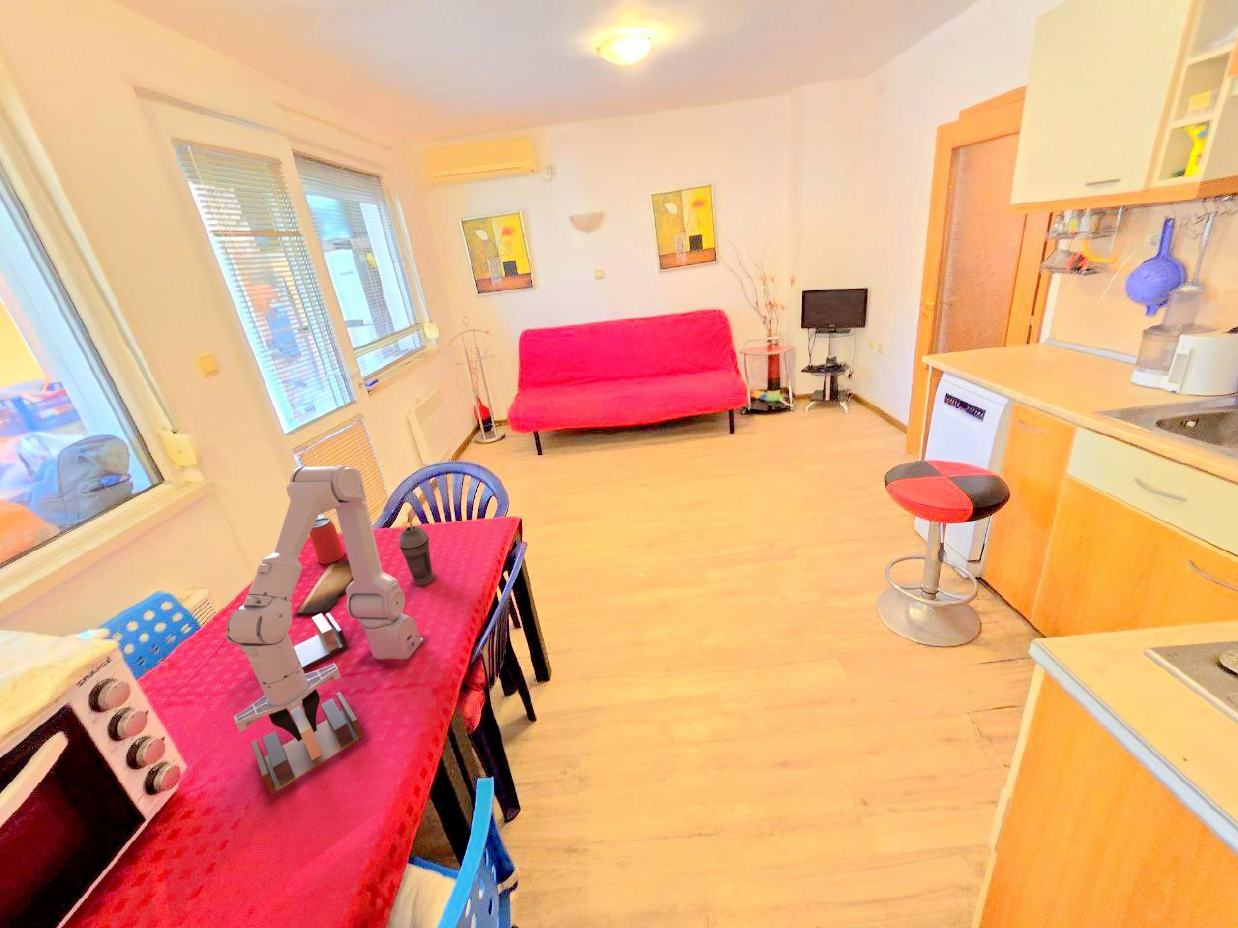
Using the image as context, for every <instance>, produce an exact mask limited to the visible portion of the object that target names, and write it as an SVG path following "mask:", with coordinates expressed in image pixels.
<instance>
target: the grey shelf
mask: <svg viewBox="0 0 1238 928" xmlns="http://www.w3.org/2000/svg"><path fill="white" fill-rule="evenodd" d="M335 695H336V698H337V700H338V704H339V706H340V708H339V707H338V705H337V703H336V702H335V699H334V698H333V697H332V698H330V699H328V700H326V701H324V702H323V703H321V704H320V707H321V709H322V712H323V715H324V717H325V720H323V721H322V722H320V723H318V724H316V727H317V731H315V732H314V734H315V737H316V739H317V741H318V744H319V746H320V748H321V751H322V753H323V754H322V755H320V756H318V757H317V758H315V759H314V760H312V759H311V757H310V755H309V752H308V750H307V748H306V746H305V744H304V742H303V739H302V740H300V741H297V739H296V738H295V737H294V738H293V739H291V740H290V741H287V742H286V743H284V744H282V742H281V739H280V737H279V735H278V733H277V731H276V730H273V731H272V732H269V733H268V734H266V735H265V736H263V737H261V740H262V743H263V746H264V749H265V751H266V755H265V754H264V753H263V750H262V748H261V745H260V744H259V742H258V740H257V739H256V738H255V739H254V740H252V741H250V745H251V748H252V750H253V751H252V752H253V754H254V757H255V760H256V763H257V766H258V769H259V772H260V776H261V778H262V780H263V781H264V784H265V786H266V788H267V790H268V792H269V794H270V795H271V796H272V795H273V794H275V793H277V792H278V791H279V790H281V789H283V788H284V787H286V786H287V785H289V784H291V783H292V782H294V781H295V780H297V779H299V778H300V777H301V776H303V775H305V774H306V773H308V772H310V771H312V770H313V769H314V768H316V767H317V766H319V765H320V764H323V762H325V761H327V760H328V759H330V758H332V757H333V756H335V755H336V754H338V753H340V752H341V751H343V750H345V749H346V748H347V747H349V746H351V745H352V744H354V743H355V742H357V741H359V740H361V738H363V737H364V733H363V730H362V728H361V725H360V723H359V720H358V717H357V716H356V714H355V713H354V711H353V709H352V708H351V706H350V704H349V703H348V701H347V699H346V697H345V696H344V694H343V693H342V691H339V692H337V693H335Z"/></svg>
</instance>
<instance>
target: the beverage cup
mask: <svg viewBox="0 0 1238 928" xmlns="http://www.w3.org/2000/svg"><path fill="white" fill-rule="evenodd" d="M407 517H408V518H407V519H408V522H409V527H405V529H403V531H402V532H401V533H400V535H399V538H398V548H400V551H401V553H402V554H403V556H404V559H405V562H406V565H407V567H408V569H409V571H410V575H411V577H412V579H413V581H414V583H415V585H417V586H424V585H425V586H426V585H428V584H429V583H431V582H432V581H433V580H434V574H433V567H432V561H431V553H430V537H429V536H428V533H427V531H425V530H424V529H423V528H421V527H419V526H415V525H413V523H412V517H411V513H410V512H408V513H407Z"/></svg>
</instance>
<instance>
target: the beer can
mask: <svg viewBox="0 0 1238 928" xmlns="http://www.w3.org/2000/svg"><path fill="white" fill-rule="evenodd" d="M339 537H340V536H339V534H338V531H337V529H336V525H335V524H334V523H333V521H332V520H331V519H330V517H329V518H328V517H324V518H317V519H316V521H315V523H314V525H313V528H312V530H311V532H310V534H309V538H310V541H311V544H312V546H313V549H314V552H315V554H316V559H317V560H318V563H320V564H321V565H330V564H331V563H333V562H339V561H340V560H342V558H343V557H344V550H343V547H342V543H341V540H340V538H339Z"/></svg>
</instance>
